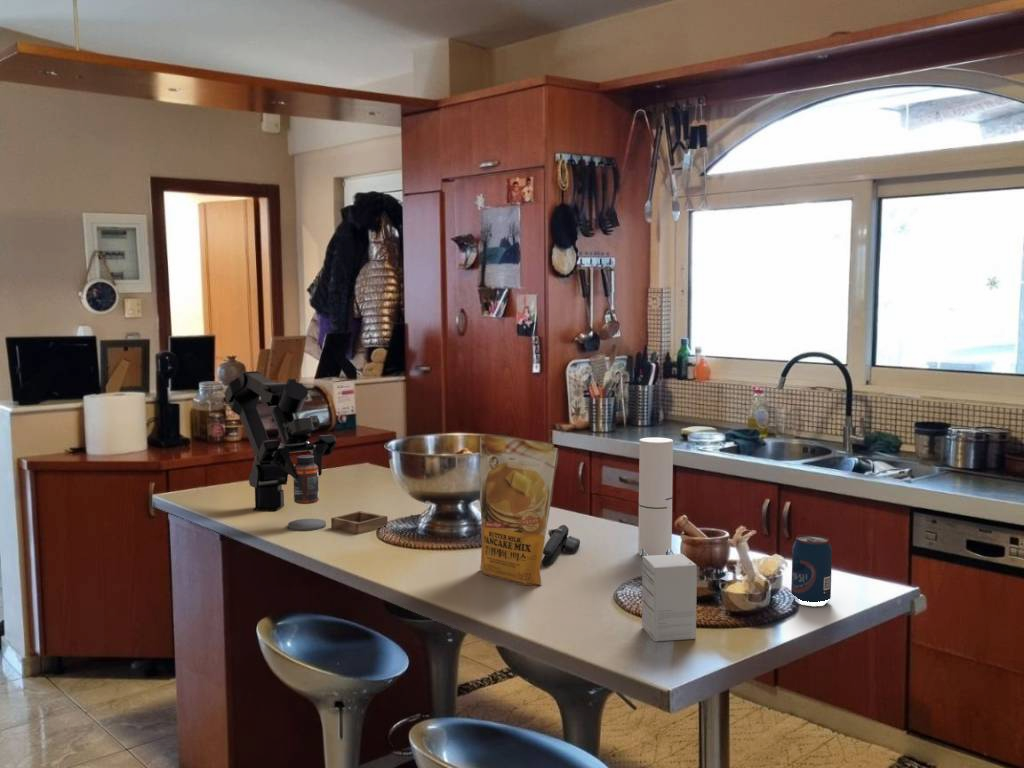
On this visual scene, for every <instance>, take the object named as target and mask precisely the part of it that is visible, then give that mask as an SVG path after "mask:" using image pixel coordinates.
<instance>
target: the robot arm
mask: <svg viewBox="0 0 1024 768" xmlns="http://www.w3.org/2000/svg"><path fill="white" fill-rule="evenodd" d="M308 395H309V391H308V388H307V387H306V386H305V385H303V383H300V382H297V380H296V378H292V379H291V378H288V379H287V381H286V382H275V381H273V380H272V379H270V378H268V377H266V376H264V375H263V374H261V372H260V371H257V370H251V371H243V372H240V373H239V376H238V377H237V378H235V379H233V380H232V381H230V383H228V386H227V388H226V389H225V393H224V399H225V403H227V405H228V406H229V408H230V410H231V411H232V412H233V413H235V414H236V415H237V416H239V418H240V421H242V425H243V428H244V430H245V432H246V435H247V437H248V440H249V444H250V447H251V448H252V452H253V454H254V461H253V464H252V469H251V472H250V474H249V476H248V483H249V486H250V487H253V488H254V501H255V502H254V503H255V504H254V507H253V508H252V511H268V512H269V511H275V512H276V511H278V510H280V509H282V508H283V507H285V496H284V494H285V493H284V492H285V491H284V489H282V487H283V485H284V486H285V485H286V486H287V484H288V477H289V475H290V477H292V478H293V480H294V479H296V478H297V473H296V470H295V467H294V466H295V464H294V463H293V460H292V458H291V455H290V454H292V453H300V452H301V453H302V452H310V453H311V454H310V455H313V456H314V463H315V464H316V465H317V466H318V477H320V476H321V475H322V474H323V473H322V472H323V471H322V470H323V466H322V465H323V464H322V463H323V462H322V461H323V457H328V456H330V455H331V454H332V452H333V451H334V448H335V447H336V445H337V442H338V441H337V439H336V437H335V435H334V434H320V435H318V436H317V438H316V440H315V441H310V442H309V441H308V440H310V439H311V437H312V435H311V433H312V432H314V431H315V430H318V429H319V428H320V427H321V423H320V419H319V417H318V415H310V416H309V417H301V418H300V417H299V415H298V413H299V412H301V411H302V408H303V406H304V403H305V402H306V399H307V397H308ZM259 400H260V402H261V403H262V404H263V405H264V406H265V407H266V408H273V407H274V408H273V410H272V412H271V414H272V415H271V418H270V419H271V420H270V421H271V422H272V423H275V425H276V428H277V432H278V434H277V438H278V439H270V438H269V436H268V434H267V430H266V428H265V425H264V423H263V421H262V418H261V415H260V412H259V410H258V407H257V406H258V403H259ZM280 440H281V441H280Z"/></svg>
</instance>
